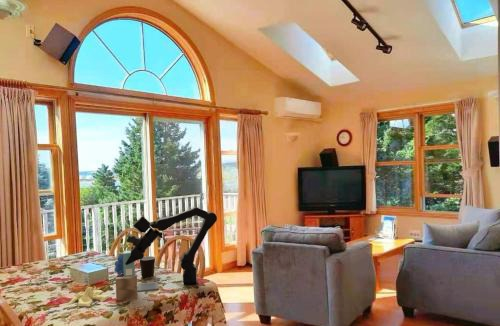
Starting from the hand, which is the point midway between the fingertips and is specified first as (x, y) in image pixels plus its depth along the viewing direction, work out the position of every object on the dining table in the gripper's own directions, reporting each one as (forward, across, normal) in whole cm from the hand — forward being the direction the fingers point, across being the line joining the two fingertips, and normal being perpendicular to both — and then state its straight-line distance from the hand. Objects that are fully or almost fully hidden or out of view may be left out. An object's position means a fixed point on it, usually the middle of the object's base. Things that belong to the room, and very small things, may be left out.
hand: (126, 263), depth 194 cm
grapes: (+12, -30, +7) cm, 33 cm away
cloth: (+22, +8, -3) cm, 24 cm away
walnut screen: (+9, +14, +10) cm, 19 cm away
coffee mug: (+2, -22, +17) cm, 28 cm away
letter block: (+4, 0, +6) cm, 7 cm away
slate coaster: (+2, 0, +17) cm, 17 cm away
